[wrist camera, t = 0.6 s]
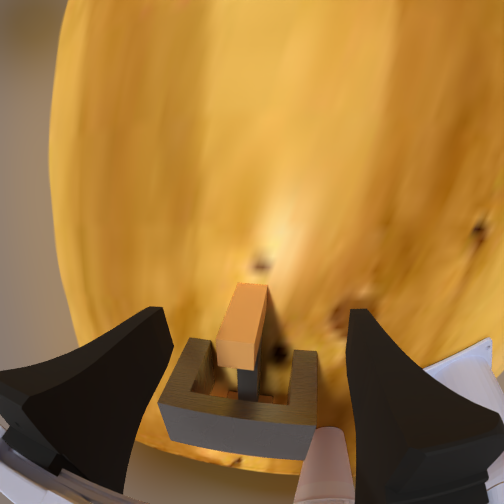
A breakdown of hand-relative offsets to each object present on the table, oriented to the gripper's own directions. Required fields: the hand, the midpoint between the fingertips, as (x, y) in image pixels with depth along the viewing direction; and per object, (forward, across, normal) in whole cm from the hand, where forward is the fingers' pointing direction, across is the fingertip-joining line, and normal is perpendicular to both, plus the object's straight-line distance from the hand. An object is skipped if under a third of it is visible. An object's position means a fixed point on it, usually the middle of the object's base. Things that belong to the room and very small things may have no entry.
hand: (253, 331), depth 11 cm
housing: (+9, +2, +11) cm, 14 cm away
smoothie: (+9, -4, +21) cm, 24 cm away
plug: (+9, +2, +11) cm, 14 cm away
